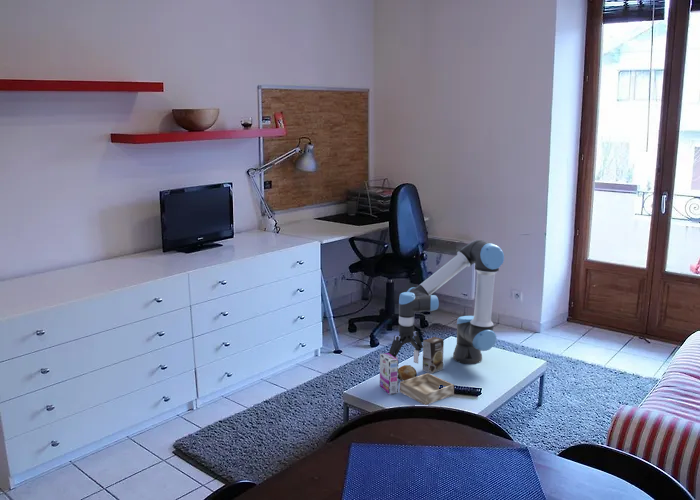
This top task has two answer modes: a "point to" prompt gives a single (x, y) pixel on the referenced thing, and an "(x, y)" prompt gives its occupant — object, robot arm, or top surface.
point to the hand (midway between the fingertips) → (405, 365)
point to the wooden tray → (426, 388)
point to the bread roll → (406, 372)
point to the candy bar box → (389, 373)
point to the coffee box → (433, 354)
